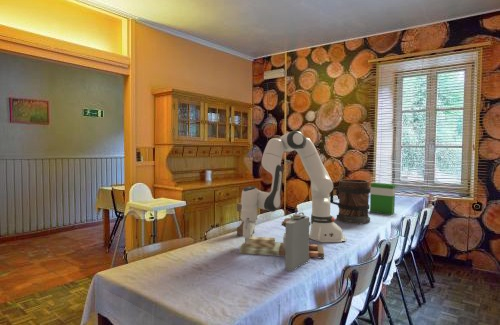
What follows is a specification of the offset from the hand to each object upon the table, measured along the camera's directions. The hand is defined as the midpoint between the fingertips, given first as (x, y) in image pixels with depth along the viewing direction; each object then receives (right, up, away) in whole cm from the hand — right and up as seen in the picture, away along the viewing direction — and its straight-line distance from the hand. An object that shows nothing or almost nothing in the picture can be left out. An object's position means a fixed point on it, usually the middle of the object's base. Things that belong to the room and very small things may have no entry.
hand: (249, 241), depth 181 cm
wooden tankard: (+76, -1, +70) cm, 103 cm away
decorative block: (-2, -3, +30) cm, 30 cm away
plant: (+34, -2, +57) cm, 66 cm away
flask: (+23, -7, -22) cm, 33 cm away
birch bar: (+6, -2, -1) cm, 6 cm away
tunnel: (+23, -3, -4) cm, 23 cm away
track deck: (+18, -5, -3) cm, 19 cm away
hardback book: (+112, +1, +96) cm, 148 cm away
